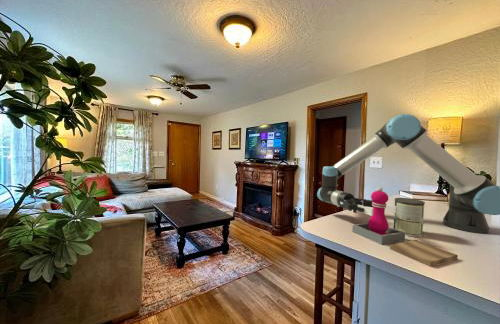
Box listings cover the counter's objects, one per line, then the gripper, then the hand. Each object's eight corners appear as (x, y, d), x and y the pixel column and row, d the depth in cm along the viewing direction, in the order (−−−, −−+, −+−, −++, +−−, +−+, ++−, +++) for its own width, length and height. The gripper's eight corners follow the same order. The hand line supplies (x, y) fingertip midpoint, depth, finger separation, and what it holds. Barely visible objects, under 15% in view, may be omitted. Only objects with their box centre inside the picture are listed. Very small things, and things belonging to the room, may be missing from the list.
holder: (374, 228, 92) (374, 222, 92) (404, 240, 80) (405, 232, 80) (352, 231, 87) (352, 224, 87) (381, 244, 75) (381, 236, 75)
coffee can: (388, 227, 94) (389, 197, 94) (411, 228, 93) (413, 198, 93) (402, 236, 84) (404, 202, 84) (429, 237, 83) (431, 203, 83)
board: (415, 243, 77) (415, 239, 77) (457, 259, 66) (457, 254, 65) (390, 248, 72) (390, 244, 72) (430, 266, 61) (430, 261, 60)
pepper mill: (387, 235, 85) (390, 187, 84) (388, 241, 79) (391, 189, 78) (367, 231, 89) (370, 185, 88) (366, 236, 82) (369, 187, 82)
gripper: (361, 205, 105) (405, 217, 85) (322, 208, 96) (361, 223, 76) (362, 191, 105) (406, 200, 85) (322, 192, 96) (362, 203, 76)
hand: (385, 211), depth 81 cm, fingers open, 13 cm apart
